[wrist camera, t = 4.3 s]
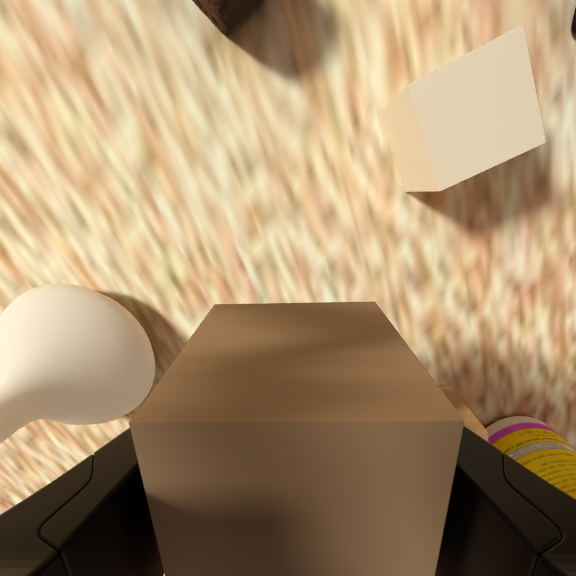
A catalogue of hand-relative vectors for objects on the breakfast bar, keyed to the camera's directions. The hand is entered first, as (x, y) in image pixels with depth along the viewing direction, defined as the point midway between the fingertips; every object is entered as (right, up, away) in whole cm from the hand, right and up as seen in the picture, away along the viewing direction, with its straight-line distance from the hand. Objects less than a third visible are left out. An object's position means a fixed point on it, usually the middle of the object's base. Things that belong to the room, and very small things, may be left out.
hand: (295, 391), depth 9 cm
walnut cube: (0, 0, +1) cm, 1 cm away
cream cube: (+9, +13, +9) cm, 18 cm away
